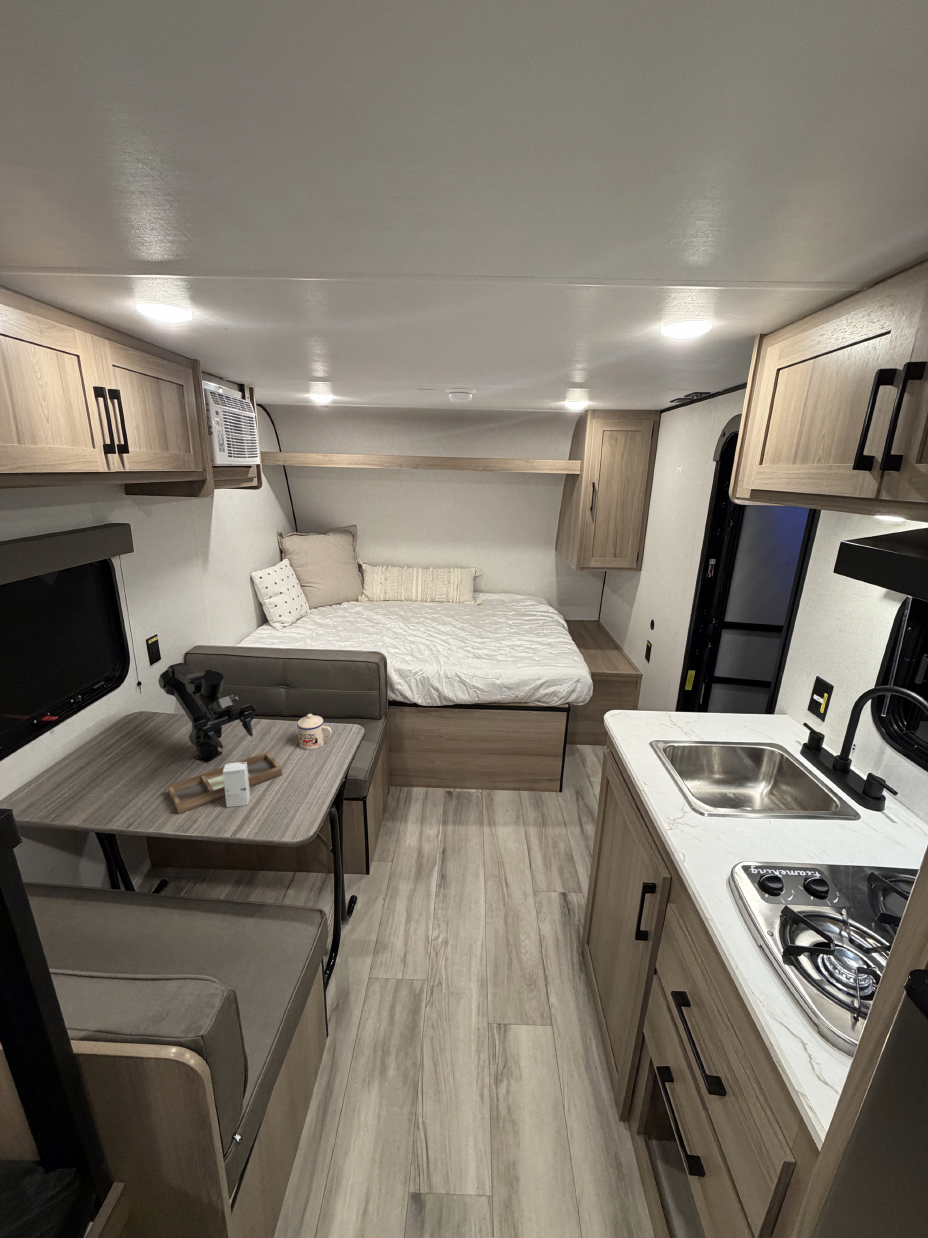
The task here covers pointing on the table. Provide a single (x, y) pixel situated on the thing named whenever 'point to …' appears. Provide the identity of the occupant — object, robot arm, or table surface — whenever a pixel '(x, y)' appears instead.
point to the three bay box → (220, 783)
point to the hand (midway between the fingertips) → (237, 741)
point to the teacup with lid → (312, 732)
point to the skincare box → (236, 784)
